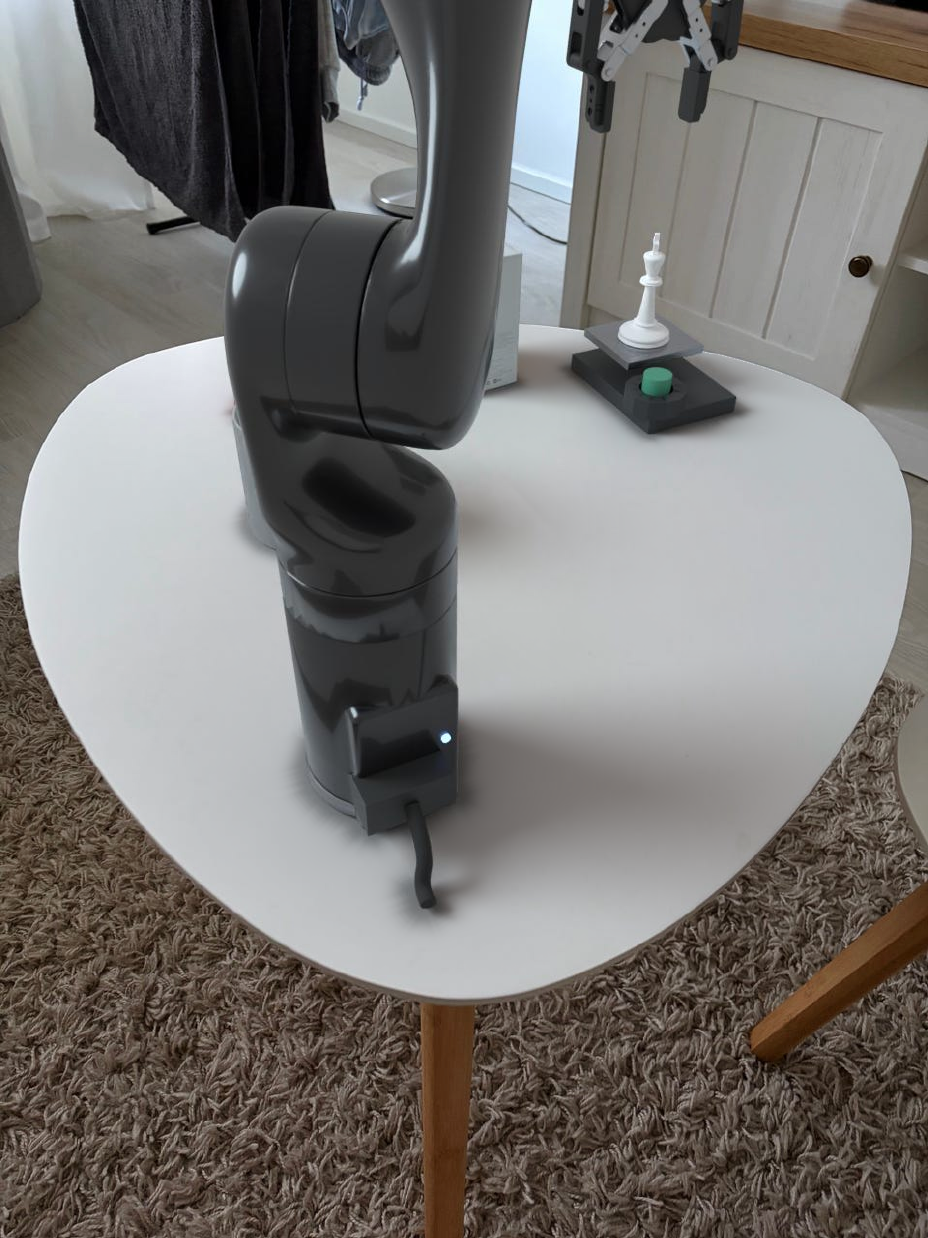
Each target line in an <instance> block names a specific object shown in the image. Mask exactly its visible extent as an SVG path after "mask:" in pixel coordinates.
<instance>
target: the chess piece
mask: <svg viewBox="0 0 928 1238" xmlns="http://www.w3.org/2000/svg"><path fill="white" fill-rule="evenodd" d="M660 238H661V233H660V232H655V233H654V237H653V240H652V244H653V245H652V250H649V251H646V252H644V254H643V261H644V262H643V263H644V267H645V274H644V275H643V276H641V277H640V279H639V284H641V285H642V286H644V289H643V290H644V291H643V295H642V298H641V301H640V305H639V310H638V313H637V316H636V317H633V318H634V320H631V321H627V322H625V323H624V324H622V325H621V326H620V328H619V333H618V338H619V339H620V341H622V342H623V343H624V344H626V345H629V346H632V347H636V348H642V349H652V348H658V347H661V346H663V345H665V344H666V343H667V342H668V341H669V331H668V329H667V328H666V327H665V326H664V325H663V324H661V323H659V322H658V321H657V320H656V319H655V313H656V312H655V311H656V310H655V309H656V287H660V286H662V285H663V278H662V277H660V276H658V275H659V273H660V271H661V269H662V266H663V264H664V263H665V261H666V254H665V253H664V252H662V251H659V249H660V240H661V239H660Z"/></svg>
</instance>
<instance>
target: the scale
mask: <svg viewBox="0 0 928 1238" xmlns="http://www.w3.org/2000/svg"><path fill="white" fill-rule="evenodd" d="M570 366H571V367H570V369H571V371H573V372H574V373H575V374H576V375H577V376H578V377H580V378H581V379H582V380H583V381H584V382H586V383H587V384H588V385H589V386H590V387H591V388H593V389H594V390H595V391H596V392H597V393H598V394H599V395H600V396H602V397H603V398H604V399H605V400H607V402H609V403H610V404H611V405H612V406H614V407H615V408H616V409H617V410H618V411H620V412H621V414H623V415H624V416H625V417H626V418H627V419H629V420H630V421H631V422H632V423H633V424H635V425H636V426H637V427H638V428H639V429H640V430H641V431H643V432H644V433H645V434H646V435H651V434H656V433H659V432H663V431H665V430H670V429H675V428H678V427H682V426H686V425H689V424H693V423H697V422H701V421H704V420H708V419H711V418H715V417H719V416H723V415H728V414H732V413H735V407H736V403H737V398H738V397H737V396H736V395H735V394H734V393H732V392H731V391H730V390H728V389H727V388H725V386H723V385H722V384H720V383H719V382H717V380H715V379H714V378H712V377H710V376H709V375H708V374H706V373H705V372H704V371H702V370H701V369H700V368H699V367H697V366H695V365H694V364H693V363H691V362H690V361H689V360H687V359H686V357H683V358H678V359H674V360H670V361H666V362H662V363H657V364H653V365H649V366H645V367H640V368H636V369H632V370H626V369H625V368H624V367H622V366H621V365H620V364H619V363H617V362H616V361H615V360H614V359H612V358H611V357H610V356H609V355H607V354H606V353H605V352H604V351H602V350H601V349H600V348H599V347H597V348H594V349H589V350H585V351H581V352H576V353H573V354H571V365H570ZM653 367H659V368H664V369H667V370H669V371H670V372H671V373H672V382H671V388H670V393H669V395H665V396H651V395H648V394H645V393H643V392H642V391H641V388H642V381H643V373H644V371H645V370H646V369H648V368H653Z"/></svg>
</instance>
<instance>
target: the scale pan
mask: <svg viewBox="0 0 928 1238" xmlns="http://www.w3.org/2000/svg"><path fill="white" fill-rule="evenodd" d="M634 318H635V317H631V318H627V319H622V320H617V321H613V322H609V323H604V324H599V325H595V326H589V327H586V328H584V330H583V337H585V338H586V339H587V340H588V341H589V342H591V343H592V344H593V345H595V346H596V347H597V348H600V349H601V350H602V351H604V352H605V353H606V354H607V355H609V356H610V357H611V358H612V359H614V360H615V361H616V362H617V363H619V364H620V365H621V366H622V367H624V368H625V369H626V370H632V369H636V368H640V367H645V366H649V365H653V364H657V363H662V362H666V361H670V360H674V359H678V358H686V357H690V356H695V355H701V354H703V353H704V348H705V347H704V346H705V345H704V344H703V343H701V342H699V341H698V340H697V339H695V338H693V337H692V336H691V335H690V334H688V333H687V332H685V331H684V330H683V329H681V328H680V327H678V326H677V325H676V324H674V323H673V322H671V321H670V320H668V319H667V318H665V317H664V316H663V315H661V314H659V313H658V312H655V319H656V320H657V321H658V322H659V323H661V324H663V325H664V326H665V327H666V328H667V329H668V331H669V341H668V342H667V343H666V344H665V345H663V346H661V347H658V348H652V349H642V348H636V347H632V346H629V345H626V344H624V343H623V342H622V341H620V339H619V338H618V333H619V328H620V326H621V325H622V324H624V323H625V322H627V321H631V320H634Z"/></svg>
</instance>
